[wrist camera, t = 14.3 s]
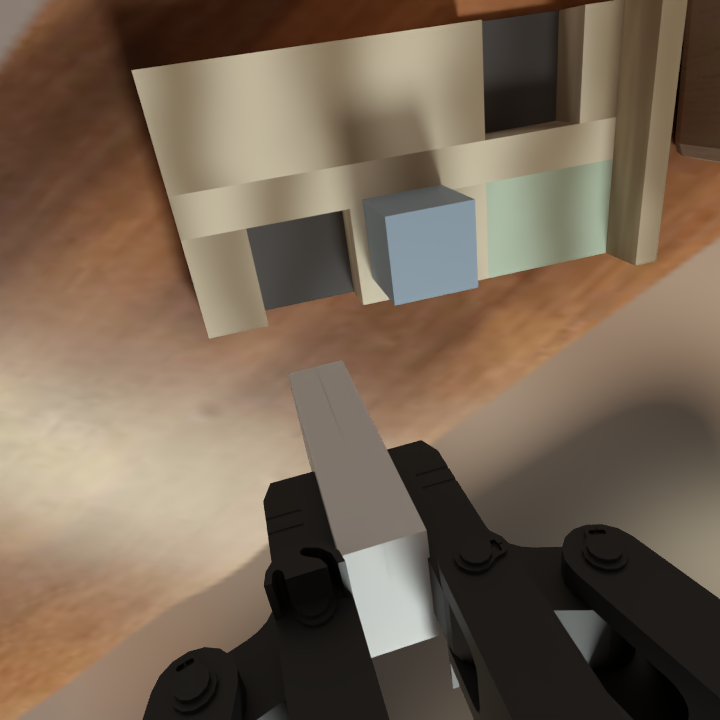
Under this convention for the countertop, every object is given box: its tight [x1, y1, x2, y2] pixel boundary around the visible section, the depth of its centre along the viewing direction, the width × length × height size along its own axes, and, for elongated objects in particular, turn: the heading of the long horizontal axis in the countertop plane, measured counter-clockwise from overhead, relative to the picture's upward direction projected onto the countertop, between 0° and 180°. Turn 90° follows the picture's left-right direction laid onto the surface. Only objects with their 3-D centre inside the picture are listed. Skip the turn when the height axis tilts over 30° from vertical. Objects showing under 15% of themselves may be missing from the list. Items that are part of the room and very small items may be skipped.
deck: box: [131, 0, 688, 338], centre depth 27 cm, size 23×12×5 cm, turn 98°
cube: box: [362, 185, 478, 305], centre depth 26 cm, size 4×4×4 cm
